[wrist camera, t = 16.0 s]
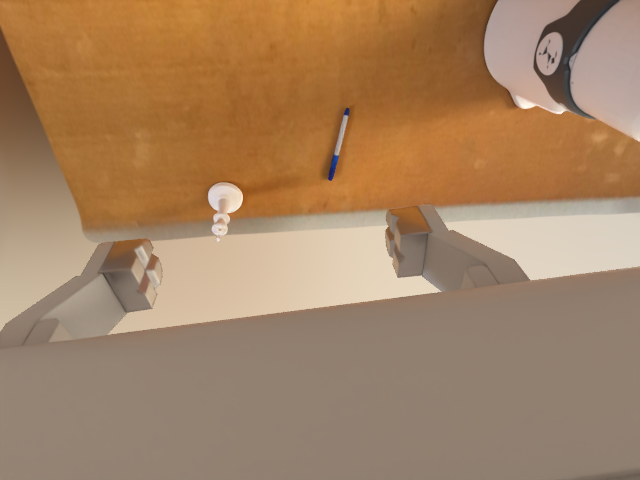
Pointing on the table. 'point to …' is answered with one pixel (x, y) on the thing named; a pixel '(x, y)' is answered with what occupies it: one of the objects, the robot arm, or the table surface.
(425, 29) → the table surface
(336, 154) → the ballpoint pen
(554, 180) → the table surface
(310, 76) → the table surface
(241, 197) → the chess piece
